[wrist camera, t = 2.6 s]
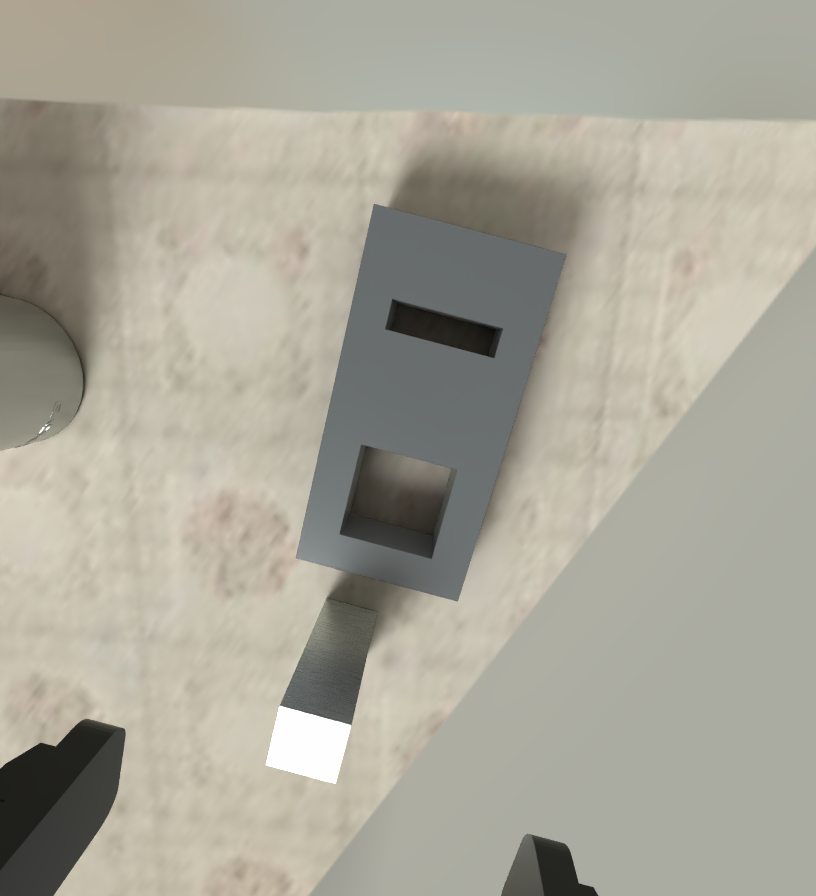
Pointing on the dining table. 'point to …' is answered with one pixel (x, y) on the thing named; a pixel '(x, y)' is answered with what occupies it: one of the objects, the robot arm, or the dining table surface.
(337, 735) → the grey square peg
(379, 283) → the holder
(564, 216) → the dining table surface
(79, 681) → the dining table surface
